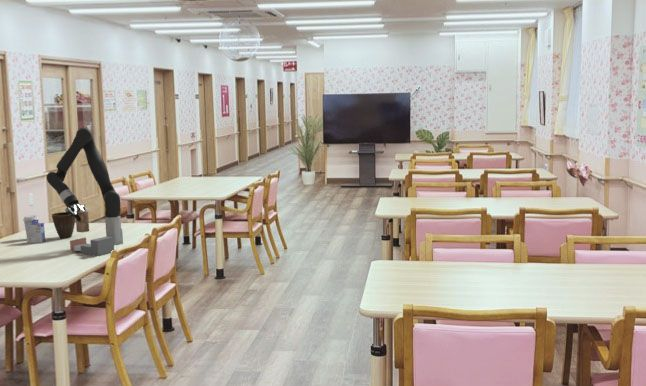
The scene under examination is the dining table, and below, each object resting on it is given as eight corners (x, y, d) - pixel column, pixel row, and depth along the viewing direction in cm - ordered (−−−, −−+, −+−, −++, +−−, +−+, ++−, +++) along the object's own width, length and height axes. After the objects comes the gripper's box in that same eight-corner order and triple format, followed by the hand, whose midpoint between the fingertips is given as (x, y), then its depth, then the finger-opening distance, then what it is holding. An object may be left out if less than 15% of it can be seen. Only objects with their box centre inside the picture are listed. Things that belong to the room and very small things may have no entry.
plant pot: (64, 240, 469) (62, 216, 467) (48, 238, 477) (46, 214, 475) (82, 236, 482) (80, 212, 480) (66, 234, 489) (65, 211, 487)
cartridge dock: (81, 253, 427) (80, 238, 426) (96, 249, 437) (96, 235, 436) (98, 256, 419) (97, 240, 418) (114, 252, 430) (113, 237, 428)
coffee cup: (34, 240, 472) (33, 217, 470) (21, 240, 474) (19, 217, 472) (43, 237, 481) (41, 215, 479) (30, 237, 483) (28, 215, 481)
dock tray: (70, 250, 432) (69, 240, 432) (85, 247, 442) (84, 237, 441) (82, 252, 427) (81, 242, 426) (96, 248, 436) (96, 238, 436)
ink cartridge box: (45, 241, 468) (44, 219, 466) (42, 243, 463) (40, 220, 461) (30, 241, 468) (28, 219, 466) (27, 243, 463) (25, 220, 461)
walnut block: (83, 230, 436) (82, 210, 434) (89, 231, 433) (88, 211, 432) (76, 231, 432) (75, 211, 430) (82, 232, 429) (81, 212, 428)
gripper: (61, 196, 428) (76, 217, 423) (81, 193, 440) (96, 214, 435) (56, 204, 431) (71, 225, 427) (75, 201, 443) (90, 222, 439)
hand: (83, 219), depth 431 cm, fingers closed on walnut block, 5 cm apart
